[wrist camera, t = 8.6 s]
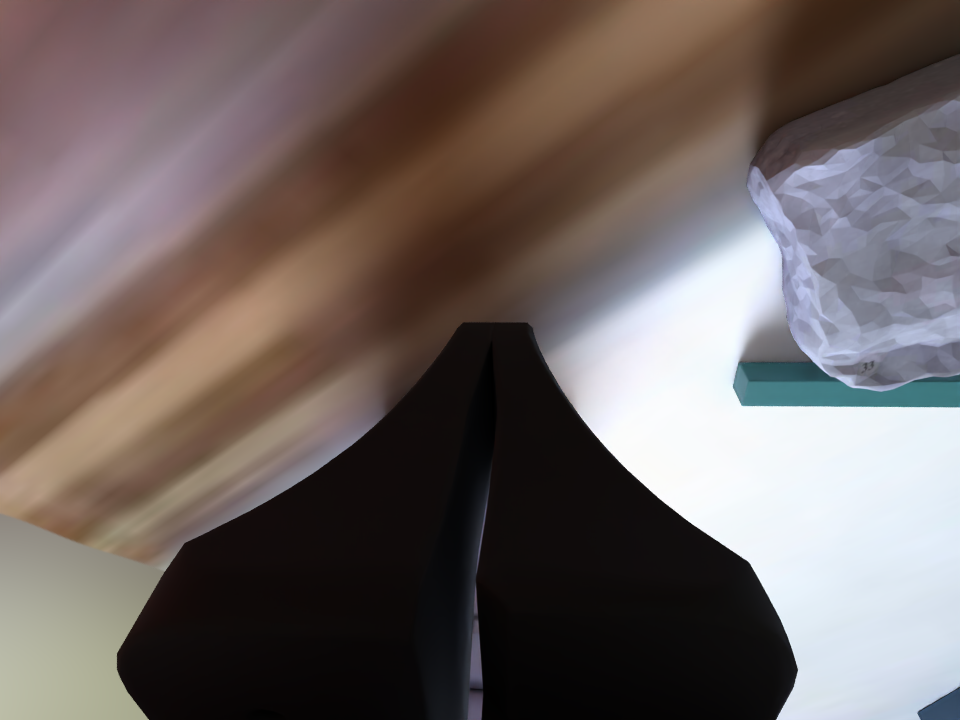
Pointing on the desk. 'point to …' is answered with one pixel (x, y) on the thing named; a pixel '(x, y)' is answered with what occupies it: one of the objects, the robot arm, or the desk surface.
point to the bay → (833, 388)
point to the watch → (943, 708)
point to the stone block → (871, 229)
